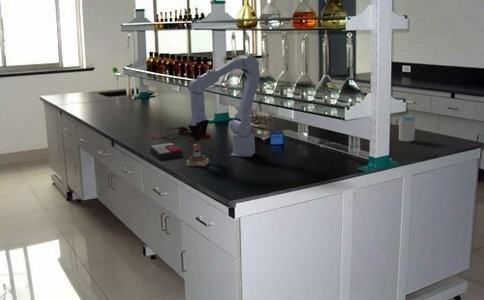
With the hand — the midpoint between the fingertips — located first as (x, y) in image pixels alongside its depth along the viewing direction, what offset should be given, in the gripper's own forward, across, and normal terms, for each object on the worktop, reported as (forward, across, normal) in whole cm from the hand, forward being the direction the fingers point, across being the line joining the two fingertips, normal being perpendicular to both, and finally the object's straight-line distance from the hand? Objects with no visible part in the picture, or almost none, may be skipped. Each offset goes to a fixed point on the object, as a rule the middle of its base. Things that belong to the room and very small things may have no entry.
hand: (200, 138), depth 242 cm
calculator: (+10, -8, -20) cm, 24 cm away
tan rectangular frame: (+10, +6, 0) cm, 11 cm away
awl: (+8, +6, 0) cm, 10 cm away
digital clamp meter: (+11, -42, -26) cm, 51 cm away
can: (+11, -47, +86) cm, 98 cm away
